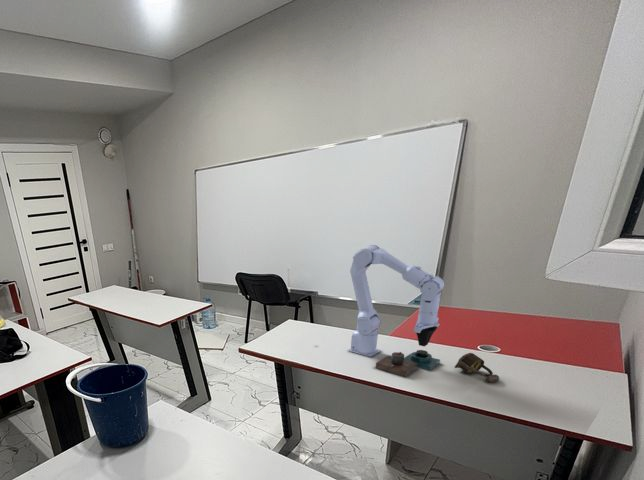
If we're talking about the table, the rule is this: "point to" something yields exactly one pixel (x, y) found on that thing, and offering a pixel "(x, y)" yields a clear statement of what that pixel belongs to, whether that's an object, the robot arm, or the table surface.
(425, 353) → the button
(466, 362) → the mechanical counter
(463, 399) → the table surface
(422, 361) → the button box
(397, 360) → the dial knob
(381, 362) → the dial panel
